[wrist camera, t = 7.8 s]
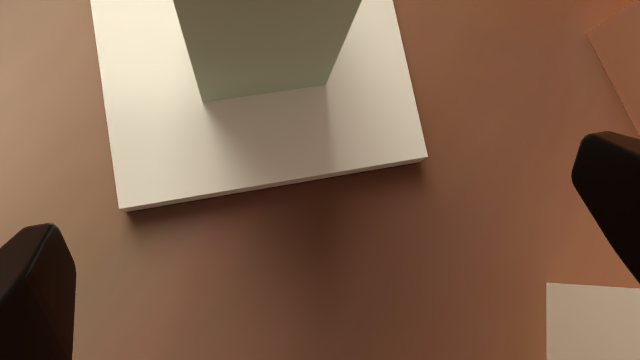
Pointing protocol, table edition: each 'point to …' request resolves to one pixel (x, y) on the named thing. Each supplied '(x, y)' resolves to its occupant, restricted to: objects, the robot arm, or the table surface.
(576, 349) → the cream cube
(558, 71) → the table surface
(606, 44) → the terracotta brick
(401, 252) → the table surface
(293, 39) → the tall sage block
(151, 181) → the white tile
